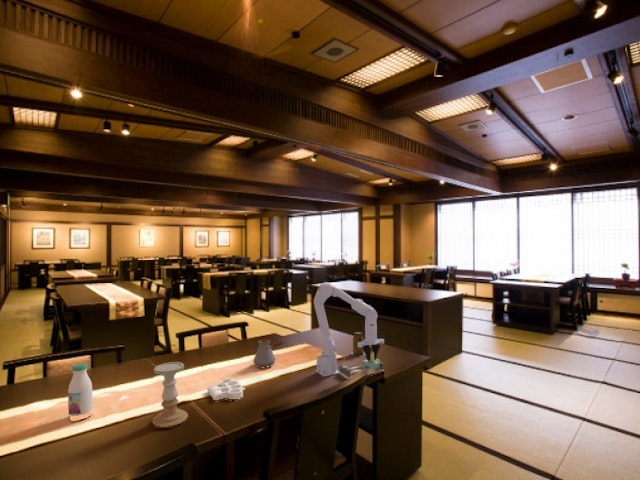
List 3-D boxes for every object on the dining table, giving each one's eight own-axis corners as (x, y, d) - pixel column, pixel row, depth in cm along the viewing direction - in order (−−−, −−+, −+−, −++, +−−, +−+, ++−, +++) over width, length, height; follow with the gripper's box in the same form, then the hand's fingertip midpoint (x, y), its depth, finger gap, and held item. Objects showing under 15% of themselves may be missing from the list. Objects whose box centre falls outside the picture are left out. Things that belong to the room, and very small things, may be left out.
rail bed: (347, 380, 169) (347, 370, 168) (338, 374, 177) (337, 364, 176) (385, 372, 178) (384, 362, 178) (374, 366, 186) (374, 357, 186)
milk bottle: (88, 410, 144) (87, 360, 144) (96, 416, 139) (94, 364, 139) (65, 418, 138) (64, 365, 138) (72, 424, 133) (71, 370, 133)
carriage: (371, 368, 176) (371, 354, 176) (363, 364, 182) (362, 350, 182) (379, 366, 178) (379, 353, 178) (371, 362, 184) (371, 349, 184)
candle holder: (146, 421, 134) (145, 367, 134) (179, 409, 143) (178, 358, 143) (159, 433, 126) (158, 375, 125) (193, 420, 134) (192, 366, 134)
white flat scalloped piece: (205, 390, 162) (237, 383, 169) (216, 406, 146) (250, 397, 154) (205, 383, 162) (237, 376, 169) (215, 398, 146) (250, 389, 154)
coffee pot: (249, 366, 190) (248, 337, 190) (265, 360, 199) (265, 333, 199) (276, 375, 176) (276, 344, 176) (293, 368, 185) (292, 339, 185)
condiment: (358, 351, 212) (358, 330, 212) (369, 354, 206) (368, 333, 205) (349, 353, 207) (349, 332, 207) (360, 357, 201) (359, 335, 201)
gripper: (363, 336, 173) (363, 364, 173) (387, 332, 180) (388, 359, 180) (355, 332, 179) (355, 360, 179) (379, 329, 186) (379, 355, 186)
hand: (371, 359), depth 180 cm, fingers open, 3 cm apart
